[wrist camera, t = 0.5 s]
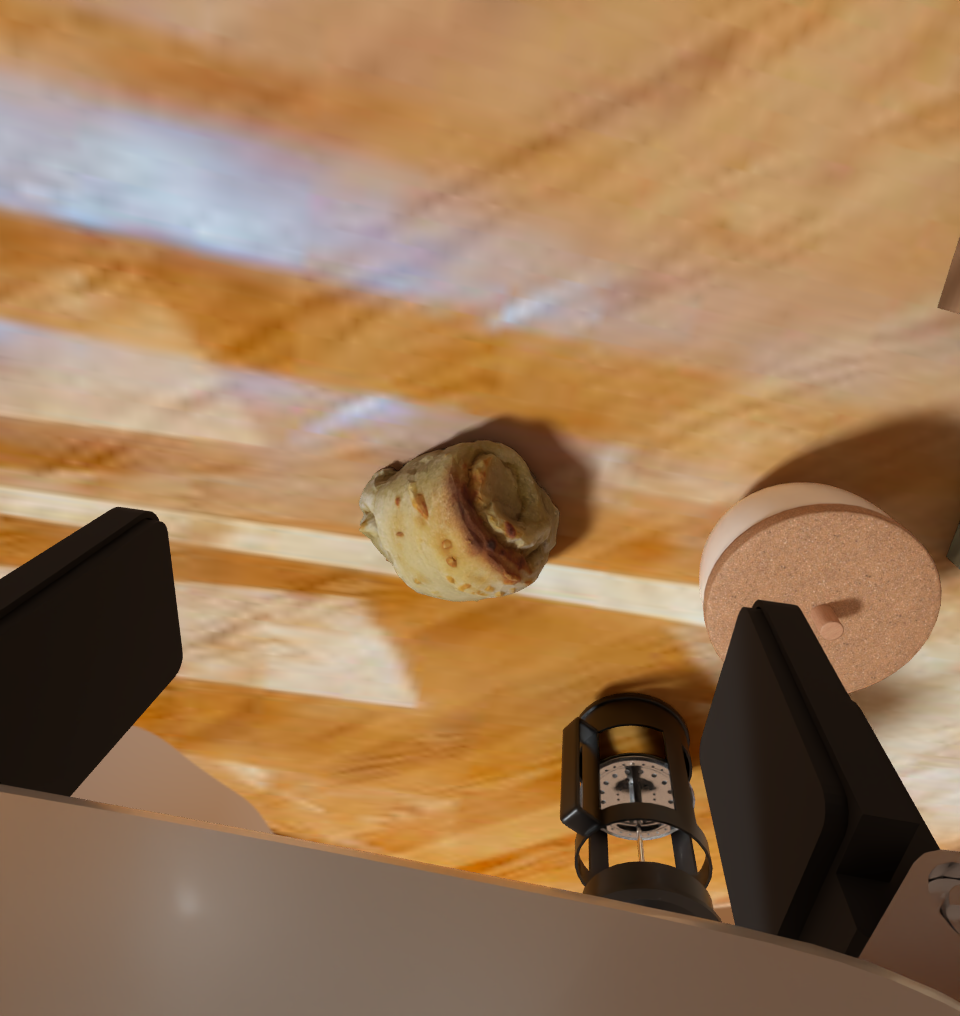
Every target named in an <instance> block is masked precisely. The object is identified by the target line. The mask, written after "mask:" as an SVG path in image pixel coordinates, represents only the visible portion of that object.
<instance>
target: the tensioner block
mask: <svg viewBox="0 0 960 1016" xmlns="http://www.w3.org/2000/svg"><path fill="white" fill-rule="evenodd" d="M938 308H940V309H944V310H948V311H951V312H955V313H959V314H960V238H959V241H958V244H957V248H956V251H955V254H954V257H953V260H952V263H951V266H950V270H949V273H948V276H947V279H946V282H945V285H944V289H943V292H942V295H941V298H940V301H939V304H938Z"/></svg>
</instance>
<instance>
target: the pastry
mask: <svg viewBox="0 0 960 1016" xmlns="http://www.w3.org/2000/svg"><path fill="white" fill-rule="evenodd" d="M535 478H536V477H535V476H534V475H533V473H532V472H531V471H530V470H529V468H528V466H527V464H526V463H525V461H524V460H523V459H522V458H521V457H520V456H519V455H518V454H517V453H516V452H515V451H514V450H513V449H512V448H510V447H508V446H506V445H504V444H502V443H500V442H499V443H495V442H492V441H490V440H482V441H478V440H477V441H475V442H473V443H470V442H466V443H459V444H456V445H453V446H450V447H448V448H444V449H442V450H440V449H439V450H436V451H432V452H429V453H426V454H423V455H420V456H418V457H416V458H415V459H413V460H411V461H409V462H408V463H407V464H406V465H404V464H403V467H402V468H401V469H400V471H396V470H395V469H394V468H392V467H388V468H385V469H381V470H379V471H377V472H376V473H375V474H374V475H373V477H372V479H371V480H370V481H369V482H368V483H367V485H366V487H365V488H364V490H363V493H362V495H361V498H360V501H359V506H360V508H361V510H362V512H363V514H364V516H363V518H362V520H361V523H360V528H359V531H360V532H362V533H363V534H364V535H365V536H367V537H368V538H370V539H371V541H372V543H373V544H374V545H375V547H376V548H377V549H378V550H379V551H380V553H381V554H383V555H384V556H385V557H386V561H388V562H390V563H391V564H392V566H393V567H394V569H395V571H396V573H397V575H398V576H399V577H400V578H401V579H402V580H403V581H404V582H405V583H406V584H407V585H408V586H409V587H410V588H412V589H413V590H415V591H416V592H418V593H421V594H424V595H428V596H431V597H435V598H439V599H444V600H449V601H479V600H481V599H485V598H494V597H501V596H505V595H509V594H512V593H515V592H518V591H520V590H522V589H524V588H525V587H527V586H529V585H530V584H532V583H533V582H535V580H536V579H537V578H538V576H539V574H540V572H541V570H542V568H543V567H544V565H545V564H546V562H547V561H548V556H549V551H550V550H551V549H552V548H553V547H554V546H555V545H556V534H557V528H558V525H559V511H558V509H557V508H556V507H555V506H554V505H553V503H552V502H551V499H550V497H549V496H548V495H547V493H546V491H545V489H544V488H540V487H539V486H538V484H537V483H536V481H535Z"/></svg>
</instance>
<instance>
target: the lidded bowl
mask: <svg viewBox="0 0 960 1016" xmlns="http://www.w3.org/2000/svg"><path fill="white" fill-rule="evenodd" d="M699 584H700V595H701V601H702V606H703V611H704V621H705V625H706V628H707V631H708V635H709V638H710V641H711V643H712V645H713V647H714V649H715V651H716V652H717V654H718V655H719V657H720V658H721V659H722V660H723V662H724V661H725V657H726V654H727V650H728V647H729V644H730V640H731V637H732V634H733V630H734V627H735V624H736V620H737V617H738V614H739V611H740V610H741V608H742V607H749V608H752V606H753V604H754V603H755V601H757V600H758V599H759V600H766V601H773V602H780V603H787V604H794V605H798V606H799V608H800V609H801V611H802V612H803V614H804V616H805V618H806V620H807V621H808V623H809V625H810V627H811V629H812V630H813V632H814V634H815V636H816V638H817V639H818V641H819V643H820V645H821V647H822V648H823V650H824V652H825V654H826V655H827V657H828V659H829V661H830V663H831V664H832V666H833V668H834V670H835V672H836V673H837V675H838V677H839V679H840V681H841V682H842V684H843V686H844V688H845V690H846V691H847V693H851V692H854V691H857V690H860V689H863V688H866V687H868V686H870V685H873V684H875V683H877V682H880V681H881V680H883V679H885V678H886V677H888V676H890V675H891V674H893V673H894V672H896V671H897V670H898V669H900V668H901V667H902V666H904V665H905V664H906V663H907V662H909V661H910V660H911V659H912V657H913V656H914V655H915V654H916V653H917V652H918V651H919V650H920V649H921V647H922V646H923V644H924V643H925V642H926V640H927V639H928V637H929V636H930V634H931V631H932V629H933V627H934V625H935V623H936V621H937V617H938V613H939V610H940V606H941V584H940V577H939V573H938V571H937V568H936V565H935V563H934V561H933V559H932V557H931V556H930V554H929V553H928V551H927V550H926V548H925V547H924V546H923V545H922V544H921V543H920V542H919V541H918V540H917V539H916V538H915V536H914V535H913V534H912V533H911V532H909V531H908V530H907V529H906V528H904V527H903V526H901V525H900V524H899V523H897V522H896V521H894V520H893V519H892V518H891V517H890V516H888V515H887V514H886V513H885V512H883V511H882V510H881V509H879V508H878V507H876V506H875V505H873V504H872V503H870V502H869V501H867V500H865V499H863V498H861V497H859V496H857V495H855V494H853V493H851V492H848V491H846V490H843V489H840V488H837V487H833V486H830V485H825V484H818V483H786V484H778V485H775V486H771V487H767V488H764V489H762V490H759V491H757V492H755V493H752V494H750V495H749V496H747V497H745V498H744V499H742V500H740V501H739V502H737V503H736V504H735V505H734V506H732V507H731V508H730V509H729V510H728V511H727V512H726V513H725V514H724V515H723V516H722V517H721V518H720V519H719V521H718V522H717V524H716V525H715V527H714V528H713V530H712V531H711V533H710V535H709V537H708V539H707V541H706V543H705V546H704V549H703V553H702V557H701V563H700V573H699Z"/></svg>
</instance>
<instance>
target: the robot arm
mask: <svg viewBox="0 0 960 1016" xmlns="http://www.w3.org/2000/svg"><path fill="white" fill-rule="evenodd" d="M182 658H183V652H182V644H181V635H180V627H179V619H178V611H177V603H176V595H175V587H174V579H173V571H172V562H171V554H170V546H169V538H168V531H167V527H166V525H165V524H164V523H163V522H160V521H159V519H158V517H157V516H156V514H154V513H153V512H151V511H144V510H137V509H130V508H123V507H115V508H113V509H111V510H109V511H108V512H106V513H105V514H103V515H101V516H100V517H98V518H97V519H95V520H93V521H92V522H90V523H89V524H87V525H85V526H84V527H82V528H81V529H79V530H77V531H76V532H74V533H73V534H71V535H70V536H68V537H66V538H65V539H63V540H62V541H60V542H58V543H57V544H55V545H54V546H52V547H50V548H49V549H47V550H46V551H44V552H43V553H41V554H39V555H38V556H36V557H35V558H33V559H31V560H30V561H28V562H27V563H25V564H23V565H22V566H20V567H19V568H17V569H16V570H14V571H12V572H11V573H9V574H8V575H6V576H4V577H3V578H1V579H0V1016H960V852H958V851H949V850H940V848H939V847H938V845H937V843H936V841H935V840H934V838H933V836H932V834H931V833H930V831H929V829H928V827H927V825H926V824H925V822H924V820H923V818H922V817H921V815H920V813H919V811H918V810H917V808H916V806H915V804H914V802H913V801H912V799H911V797H910V795H909V794H908V792H907V790H906V788H905V787H904V785H903V783H902V781H901V779H900V778H899V776H898V774H897V772H896V771H895V769H894V767H893V765H892V764H891V762H890V760H889V758H888V756H887V755H886V753H885V751H884V749H883V748H882V746H881V744H880V742H879V741H878V739H877V737H876V735H875V733H874V732H873V730H872V728H871V726H870V725H869V723H868V721H867V719H866V718H865V716H864V714H863V712H862V710H861V709H860V708H859V707H858V705H857V704H856V703H855V702H853V701H852V700H851V699H850V697H849V695H848V693H847V691H846V690H845V688H844V686H843V684H842V682H841V681H840V679H839V677H838V675H837V673H836V672H835V670H834V668H833V666H832V664H831V663H830V661H829V659H828V657H827V655H826V654H825V652H824V650H823V648H822V647H821V645H820V643H819V641H818V639H817V638H816V636H815V634H814V632H813V630H812V629H811V627H810V625H809V623H808V621H807V620H806V618H805V616H804V614H803V612H802V611H801V609H800V608H799V606H798V605H794V604H787V603H780V602H773V601H766V600H759V599H758V600H757V601H755V603H754V604H753V606H752V608H749V607H742V608H741V610H740V611H739V614H738V617H737V620H736V624H735V627H734V630H733V634H732V637H731V640H730V644H729V647H728V650H727V654H726V657H725V661H724V664H723V667H722V671H721V674H720V677H719V681H718V684H717V687H716V691H715V694H714V698H713V701H712V704H711V708H710V711H709V714H708V718H707V721H706V724H705V728H704V731H703V735H702V738H701V743H700V765H701V770H702V774H703V779H704V783H705V788H706V793H707V797H708V802H709V807H710V811H711V816H712V820H713V825H714V830H715V834H716V839H717V843H718V848H719V853H720V857H721V862H722V866H723V871H724V876H725V880H726V885H727V889H728V894H729V899H730V903H731V908H732V912H733V917H734V921H735V925H731V924H726V923H722V922H718V921H713V920H708V919H704V918H699V917H695V916H690V915H685V914H680V913H675V912H670V911H665V910H660V909H655V908H650V907H645V906H641V905H636V904H631V903H626V902H622V901H617V900H612V899H608V898H603V897H597V896H592V895H587V894H582V893H577V892H572V891H566V890H561V889H556V888H551V887H546V886H541V885H536V884H530V883H525V882H520V881H515V880H510V879H505V878H499V877H494V876H489V875H484V874H479V873H474V872H469V871H463V870H458V869H453V868H448V867H443V866H438V865H433V864H427V863H422V862H417V861H412V860H407V859H401V858H396V857H391V856H386V855H380V854H375V853H370V852H364V851H359V850H354V849H349V848H343V847H338V846H333V845H327V844H322V843H317V842H312V841H306V840H301V839H296V838H290V837H285V836H280V835H274V834H269V833H264V832H258V831H253V830H247V829H242V828H237V827H231V826H226V825H221V824H215V823H210V822H205V821H199V820H194V819H188V818H183V817H178V816H172V815H167V814H162V813H156V812H151V811H145V810H139V809H134V808H128V807H123V806H118V805H112V804H107V803H101V802H95V801H90V800H85V799H79V798H73V797H70V796H71V795H72V794H73V792H74V791H75V790H76V789H77V788H78V787H79V786H80V784H81V783H82V782H83V781H84V780H85V779H86V778H87V776H88V775H89V774H90V773H91V772H92V771H93V770H94V768H95V767H96V766H97V765H98V764H99V763H100V762H101V760H102V759H103V758H104V757H105V756H106V755H107V754H108V753H109V751H110V750H111V749H112V748H113V747H114V746H115V745H116V743H117V742H118V741H119V740H120V739H121V738H122V736H123V735H124V734H125V733H126V732H127V731H128V730H129V729H130V727H131V726H132V725H133V724H134V723H135V722H136V721H137V719H138V718H139V717H140V716H141V715H142V714H143V713H144V711H145V710H146V709H147V708H148V707H149V706H150V705H151V703H152V702H153V701H154V700H155V699H156V698H157V697H158V695H159V694H160V693H161V692H162V691H163V690H164V689H165V687H166V686H167V685H168V684H169V683H170V682H171V681H172V679H173V678H174V677H175V676H176V674H177V673H178V671H179V669H180V667H181V663H182Z"/></svg>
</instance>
